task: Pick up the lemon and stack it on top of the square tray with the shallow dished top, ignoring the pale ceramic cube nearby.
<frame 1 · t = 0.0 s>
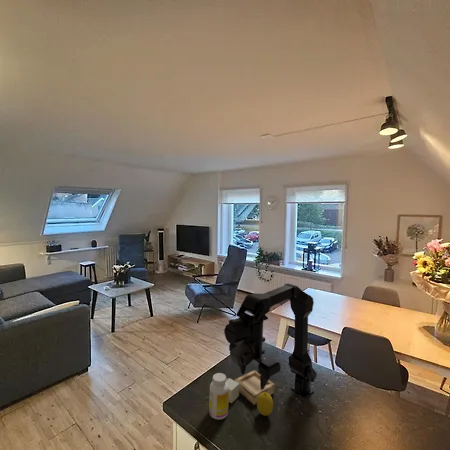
hand: (252, 381, 83), 15 cm above the countertop, fingers open, 9 cm apart
lemon: (264, 415, 87), on the countertop
supplement bottle: (218, 413, 88), on the countertop
ceramic cube: (229, 396, 96), on the countertop
square tray: (254, 390, 100), on the countertop
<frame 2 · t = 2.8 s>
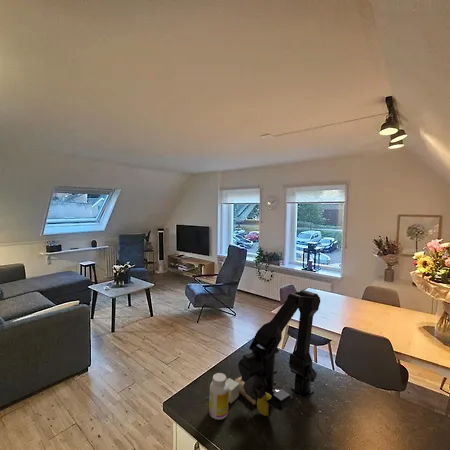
hand: (264, 410, 87), 2 cm above the countertop, fingers closed on lemon, 5 cm apart
lemon: (264, 415, 87), on the countertop, touching gripper
everything else where it was.
when the fingers open (5 cm above the countertop, at t = 6.4 s): lemon drops 1 cm, resting on square tray.
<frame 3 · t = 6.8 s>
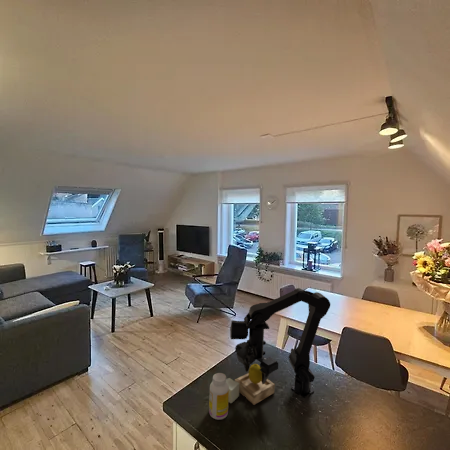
hand: (254, 377, 99), 5 cm above the countertop, fingers open, 9 cm apart
lemon: (255, 384, 100), point 2 cm above the countertop, touching square tray
everything else where it was.
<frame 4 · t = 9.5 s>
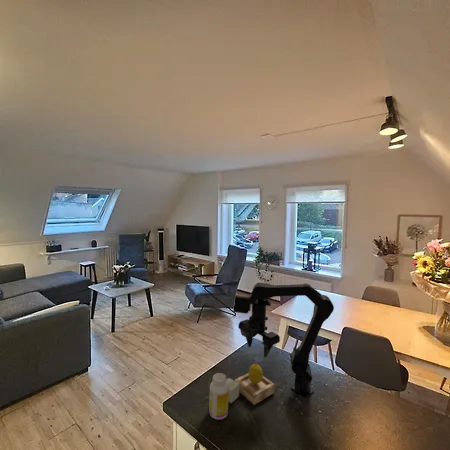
hand: (257, 351, 104), 13 cm above the countertop, fingers open, 9 cm apart
nothing on the countertop moved.
at the end: lemon inside the target area on the square tray (0.3 cm from its centre), point 2.3 cm above the square tray's base; lemon touching square tray; the gripper is holding nothing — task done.
